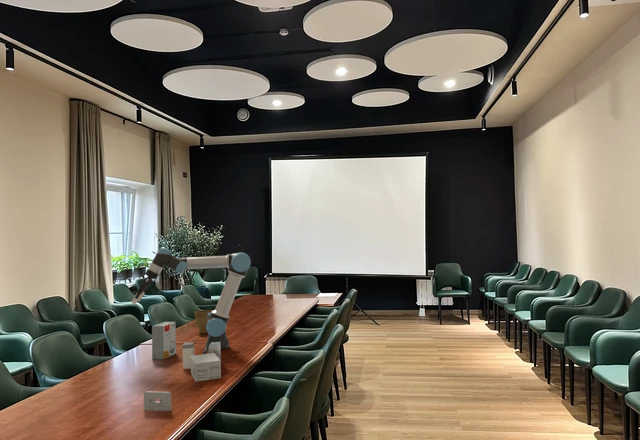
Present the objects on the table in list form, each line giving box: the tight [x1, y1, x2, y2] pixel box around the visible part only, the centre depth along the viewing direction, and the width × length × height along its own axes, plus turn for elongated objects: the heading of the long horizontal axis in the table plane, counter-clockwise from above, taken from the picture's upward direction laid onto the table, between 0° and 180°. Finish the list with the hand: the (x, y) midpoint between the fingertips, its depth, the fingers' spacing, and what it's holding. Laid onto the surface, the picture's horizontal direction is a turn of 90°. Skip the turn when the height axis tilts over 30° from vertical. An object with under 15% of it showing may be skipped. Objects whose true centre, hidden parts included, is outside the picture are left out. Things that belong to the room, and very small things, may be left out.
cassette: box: [143, 390, 172, 412], centre depth 200 cm, size 12×2×8 cm, turn 81°
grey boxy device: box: [208, 342, 222, 361], centre depth 266 cm, size 9×10×12 cm
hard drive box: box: [151, 321, 177, 361], centre depth 291 cm, size 16×8×20 cm, turn 168°
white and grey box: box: [182, 341, 195, 370], centre depth 265 cm, size 9×6×13 cm, turn 94°
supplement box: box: [190, 353, 222, 382], centre depth 248 cm, size 17×13×9 cm
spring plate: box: [202, 347, 208, 354], centre depth 266 cm, size 1×8×8 cm, turn 4°
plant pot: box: [193, 309, 215, 334], centre depth 361 cm, size 15×15×16 cm
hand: (135, 302), depth 288 cm, fingers open, 13 cm apart
